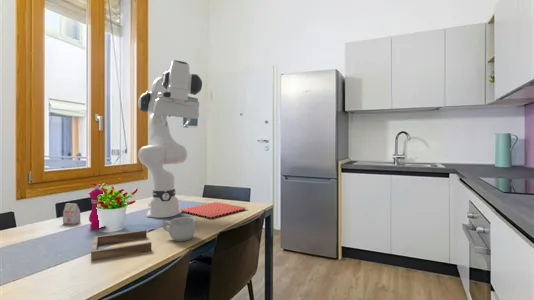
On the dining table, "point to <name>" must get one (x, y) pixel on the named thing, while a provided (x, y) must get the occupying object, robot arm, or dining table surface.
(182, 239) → the teacup
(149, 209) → the robot arm
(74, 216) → the small food carton
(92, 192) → the pepper mill
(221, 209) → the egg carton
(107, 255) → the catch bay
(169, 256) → the dining table surface
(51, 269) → the dining table surface
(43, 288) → the dining table surface
